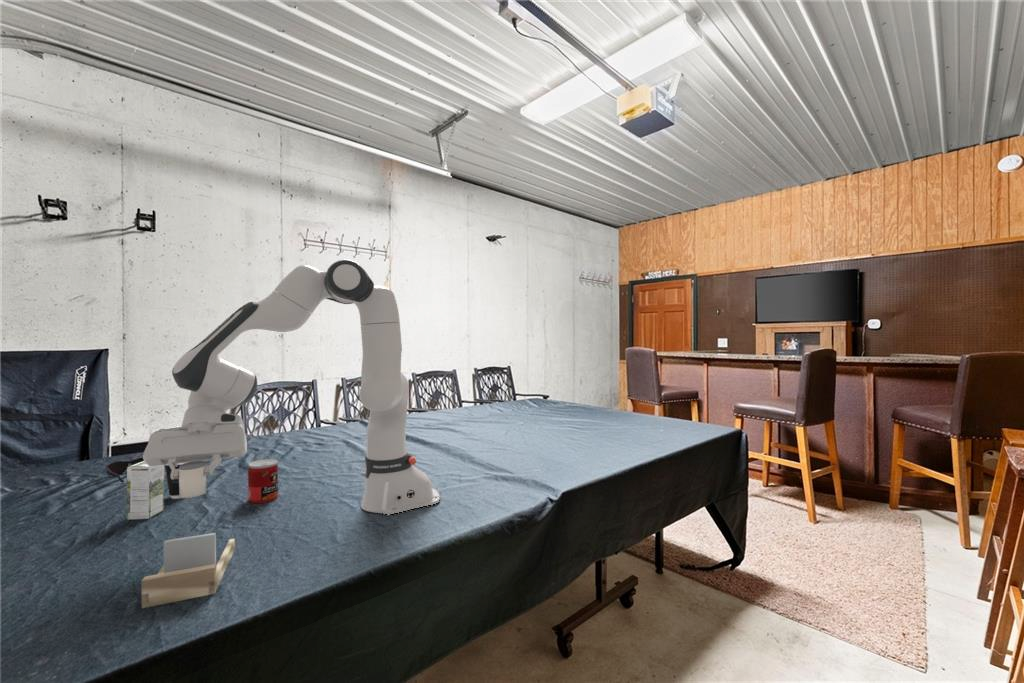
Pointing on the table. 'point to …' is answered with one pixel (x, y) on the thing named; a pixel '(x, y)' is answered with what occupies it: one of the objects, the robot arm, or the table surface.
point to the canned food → (262, 480)
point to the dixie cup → (173, 482)
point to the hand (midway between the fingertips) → (191, 476)
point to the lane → (185, 581)
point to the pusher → (189, 552)
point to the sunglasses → (120, 467)
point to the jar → (192, 479)
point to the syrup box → (144, 491)
